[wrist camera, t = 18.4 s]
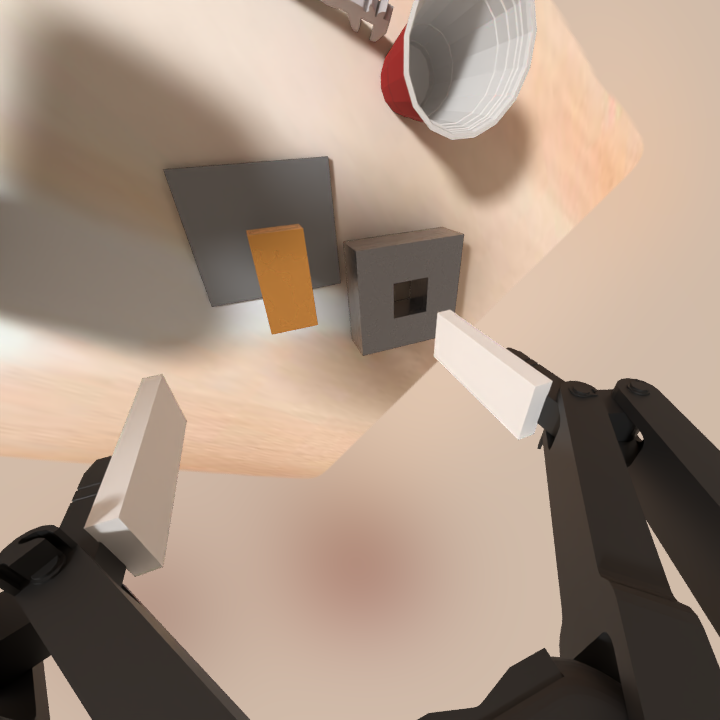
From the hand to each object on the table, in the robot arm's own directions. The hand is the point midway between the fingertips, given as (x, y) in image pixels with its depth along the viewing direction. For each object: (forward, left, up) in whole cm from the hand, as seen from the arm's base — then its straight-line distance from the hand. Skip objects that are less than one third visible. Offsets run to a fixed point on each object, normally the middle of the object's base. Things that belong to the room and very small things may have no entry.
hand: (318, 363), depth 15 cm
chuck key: (0, 0, -26) cm, 26 cm away
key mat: (0, +1, -27) cm, 27 cm away
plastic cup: (+17, +14, -27) cm, 35 cm away
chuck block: (+16, -8, -27) cm, 32 cm away
